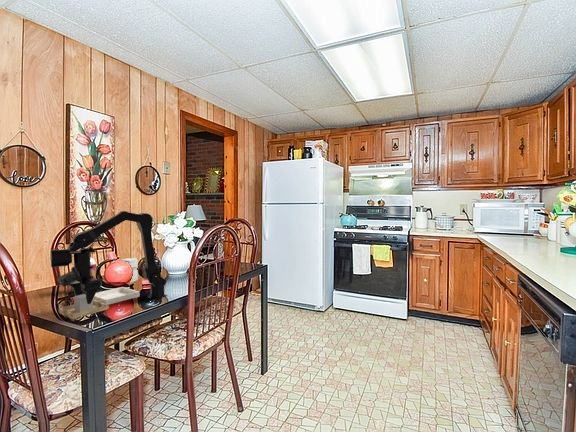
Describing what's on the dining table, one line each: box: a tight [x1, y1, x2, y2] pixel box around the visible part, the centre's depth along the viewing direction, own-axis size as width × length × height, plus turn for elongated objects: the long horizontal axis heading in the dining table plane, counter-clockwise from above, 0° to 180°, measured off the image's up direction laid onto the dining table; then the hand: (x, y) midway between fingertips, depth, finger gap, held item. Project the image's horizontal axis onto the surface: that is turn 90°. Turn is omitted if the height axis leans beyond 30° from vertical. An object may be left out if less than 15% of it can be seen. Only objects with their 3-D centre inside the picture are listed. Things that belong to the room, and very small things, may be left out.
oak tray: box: [58, 300, 110, 321], centre depth 130 cm, size 13×13×2 cm
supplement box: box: [121, 257, 139, 284], centre depth 177 cm, size 7×7×13 cm
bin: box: [93, 286, 140, 306], centre depth 147 cm, size 15×15×2 cm
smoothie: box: [83, 256, 97, 293], centre depth 160 cm, size 8×8×20 cm
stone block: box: [73, 293, 94, 313], centre depth 130 cm, size 5×5×6 cm
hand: (83, 301), depth 130 cm, fingers open, 9 cm apart
